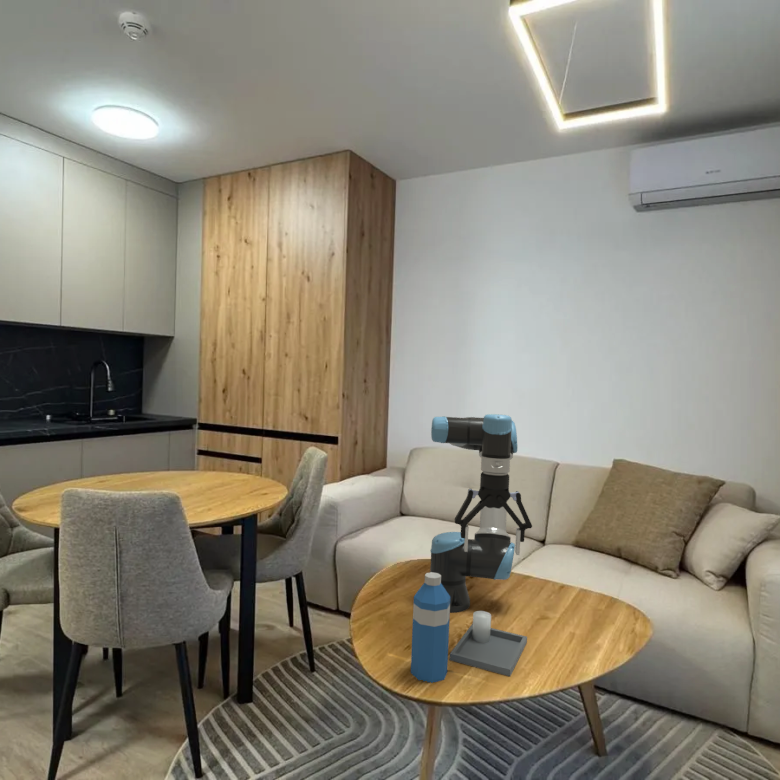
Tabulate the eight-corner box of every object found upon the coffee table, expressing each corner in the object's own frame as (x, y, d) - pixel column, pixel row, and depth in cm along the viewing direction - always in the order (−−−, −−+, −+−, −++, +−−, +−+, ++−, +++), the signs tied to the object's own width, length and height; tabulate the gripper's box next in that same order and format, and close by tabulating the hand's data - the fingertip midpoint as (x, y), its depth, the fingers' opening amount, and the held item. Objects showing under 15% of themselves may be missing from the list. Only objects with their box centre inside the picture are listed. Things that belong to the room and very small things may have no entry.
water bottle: (408, 662, 145) (412, 568, 144) (443, 662, 146) (447, 568, 145) (412, 683, 136) (417, 582, 135) (450, 682, 137) (455, 582, 136)
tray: (449, 662, 146) (449, 653, 146) (472, 631, 164) (472, 623, 164) (510, 679, 139) (510, 669, 139) (526, 645, 157) (527, 636, 157)
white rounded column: (469, 640, 157) (471, 616, 157) (475, 633, 162) (476, 609, 161) (487, 644, 155) (488, 620, 155) (492, 637, 159) (493, 613, 159)
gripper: (448, 472, 145) (444, 553, 146) (545, 477, 143) (541, 559, 144) (447, 467, 153) (444, 544, 153) (540, 472, 151) (536, 550, 151)
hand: (491, 552), depth 148 cm, fingers open, 13 cm apart
